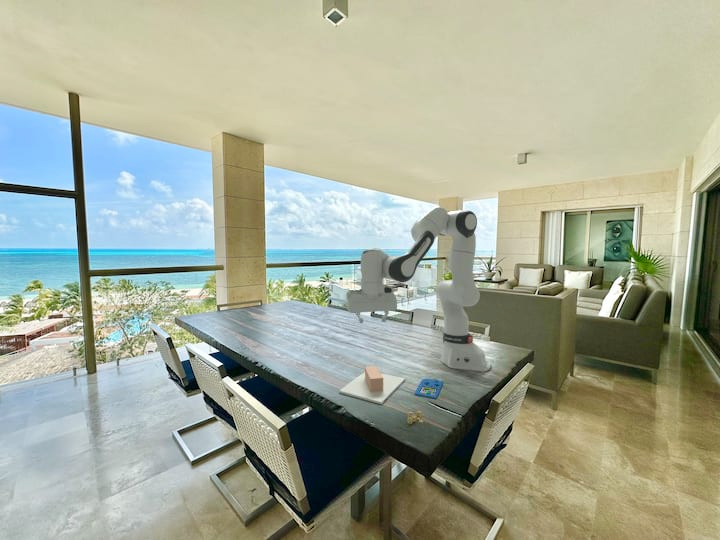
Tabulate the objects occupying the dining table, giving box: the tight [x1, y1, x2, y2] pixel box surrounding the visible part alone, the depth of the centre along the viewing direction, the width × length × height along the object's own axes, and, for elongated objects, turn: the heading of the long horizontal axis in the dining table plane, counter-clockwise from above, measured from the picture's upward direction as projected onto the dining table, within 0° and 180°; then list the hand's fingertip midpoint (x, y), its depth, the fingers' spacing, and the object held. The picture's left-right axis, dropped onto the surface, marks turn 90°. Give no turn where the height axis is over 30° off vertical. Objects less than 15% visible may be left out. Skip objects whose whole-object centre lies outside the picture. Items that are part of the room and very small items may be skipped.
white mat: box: [338, 371, 406, 405], centre depth 117 cm, size 18×22×1 cm
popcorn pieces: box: [407, 410, 424, 425], centre depth 94 cm, size 5×5×2 cm
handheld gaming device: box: [413, 378, 444, 400], centre depth 115 cm, size 8×1×15 cm
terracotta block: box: [364, 365, 383, 392], centre depth 117 cm, size 5×5×12 cm
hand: (372, 322), depth 120 cm, fingers open, 8 cm apart
